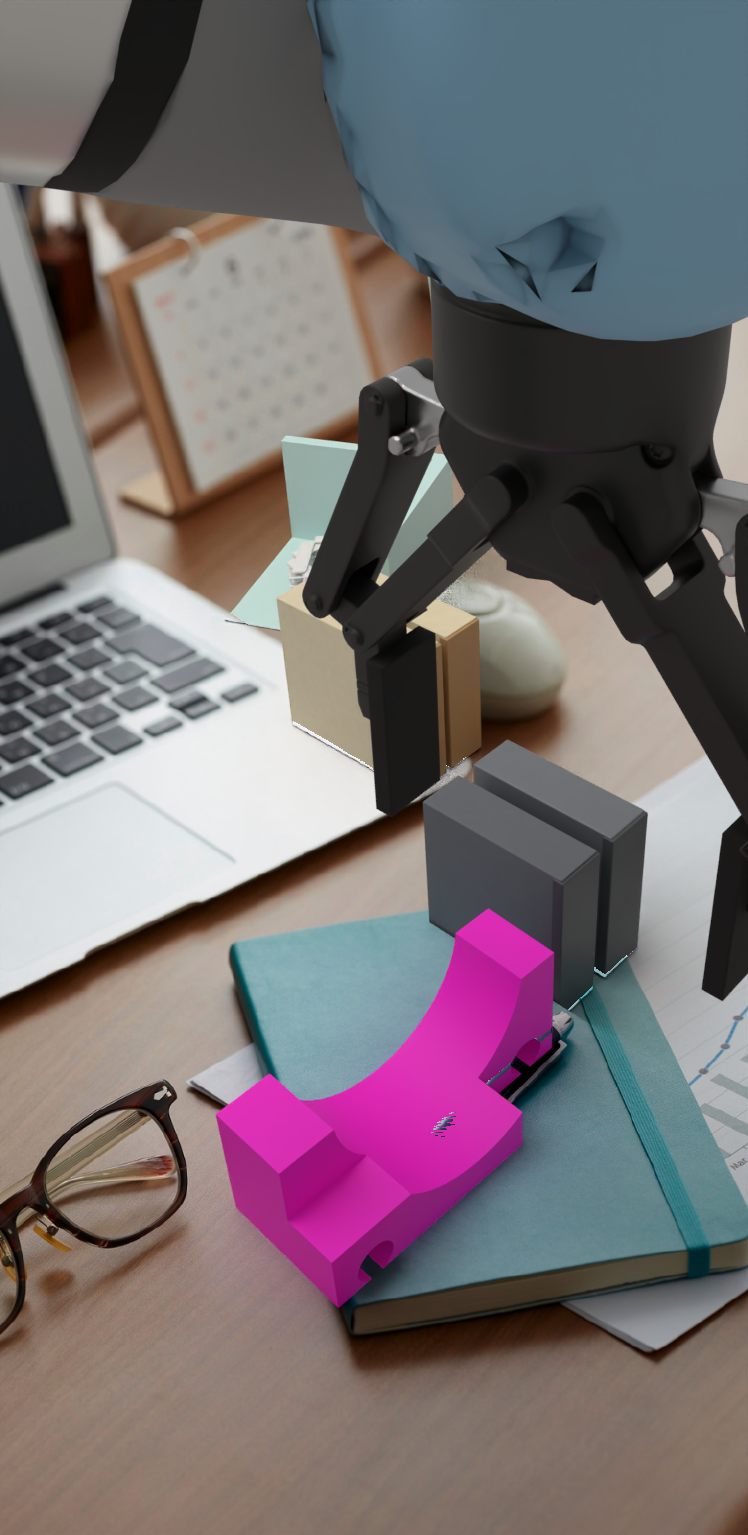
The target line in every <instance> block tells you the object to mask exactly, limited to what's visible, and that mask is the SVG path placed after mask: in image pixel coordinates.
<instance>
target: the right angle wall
mask: <svg viewBox="0 0 748 1535" xmlns="http://www.w3.org/2000/svg"><path fill="white" fill-rule="evenodd" d="M280 445H281V453H282V462H283V471H284V479H285V488H286V496H287V505H288V507H287V508H288V515H289V523H290V532H291V538H290V539H289V540H288V542H287V543H286V544H285V545H284V546H283V548H282V549H281V550H280V551H279V553H277V555H276V556H275V558H274V559H273V560H272V561H271V562H270V564H269V565H268V566H267V567H266V569H265V570H264V571H263V572H262V574H261V575H260V576H259V577H258V578H257V580H256V581H255V583H254V584H252V586H251V587H250V588H249V590H248V591H247V592H246V593H245V594H244V596H243V597H242V598H241V599H240V600H239V602H238V603H237V604H236V606H235V607H234V608H233V609H232V611H231V612H230V613H229V614H233V615H234V616H236V617H237V618H238V619H240V620H241V621H244V622H245V623H246V624H245V625H247V624H248V626H254V627H261V628H265V629H271V630H278V631H280V624H279V616H278V608H277V600H276V598H277V597H278V596H280V595H281V594H283V593H285V592H286V591H288V590H290V589H292V588H293V587H295V586H297V585H298V584H300V583H302V582H304V581H305V580H307V578H308V576H309V573H310V571H311V568H312V565H313V563H314V560H315V558H316V555H317V552H318V550H319V547H320V545H321V542H322V540H323V537H324V534H325V532H326V529H327V527H328V524H329V521H330V519H331V516H332V514H333V511H334V509H335V506H336V503H337V501H338V498H339V496H340V493H341V491H342V488H343V485H344V483H345V480H346V478H347V475H348V472H349V470H350V467H351V465H352V462H353V460H354V457H355V454H356V452H357V449H358V443H352V442H344V441H336V440H329V439H320V438H319V439H318V438H311V437H305V436H304V437H302V436H294V435H285V436H284V437H283V438H282V439H281V441H280ZM453 475H454V474H453V471H452V469H451V467H450V465H449V463H448V461H447V459H446V458H445V456H444V453H436V452H434V454H433V457H432V459H431V461H430V463H429V466H428V468H427V470H426V472H425V475H424V477H423V479H422V481H421V483H420V486H419V488H418V490H417V492H416V494H415V497H414V499H413V501H412V503H411V506H410V508H409V510H408V512H407V514H406V517H405V519H404V521H403V523H402V525H401V528H400V530H399V532H398V534H397V537H396V539H395V541H394V543H393V545H392V548H391V550H390V552H389V554H388V556H387V559H386V561H385V563H384V565H383V568H382V570H381V572H380V573H382V574H384V575H386V576H388V577H390V576H391V575H392V574H393V573H394V572H395V571H396V570H397V569H398V568H399V567H400V566H401V565H402V564H403V563H404V562H405V561H406V560H407V559H408V558H409V557H410V556H411V555H412V554H413V553H414V552H415V551H416V550H417V549H418V548H419V547H420V546H421V545H422V544H423V543H424V542H425V541H426V540H427V539H428V537H427V534H428V533H429V532H430V531H431V530H432V529H433V528H434V527H435V526H436V525H437V524H438V523H439V522H440V521H441V520H442V519H443V518H444V517H445V516H446V515H447V514H448V513H449V512H450V511H451V510H452V509H453V508H454V507H455V506H454V482H453V481H454V479H453V477H454V476H453Z"/></svg>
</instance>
